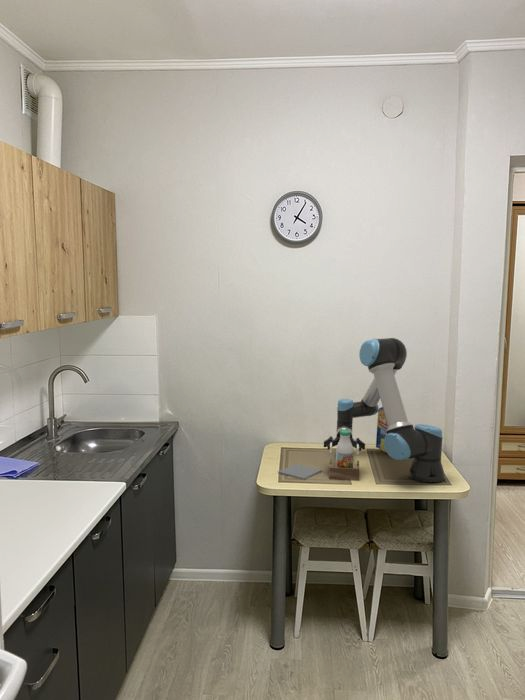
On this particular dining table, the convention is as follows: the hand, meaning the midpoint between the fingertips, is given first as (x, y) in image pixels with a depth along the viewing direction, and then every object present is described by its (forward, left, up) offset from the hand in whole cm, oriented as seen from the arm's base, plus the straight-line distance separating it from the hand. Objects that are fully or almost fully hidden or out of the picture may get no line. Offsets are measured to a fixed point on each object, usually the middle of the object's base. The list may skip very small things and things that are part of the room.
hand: (344, 450), depth 253 cm
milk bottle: (+2, -3, -12) cm, 13 cm away
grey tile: (+19, +7, -12) cm, 23 cm away
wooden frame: (+2, -3, -12) cm, 13 cm away
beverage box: (+2, -48, -11) cm, 49 cm away
